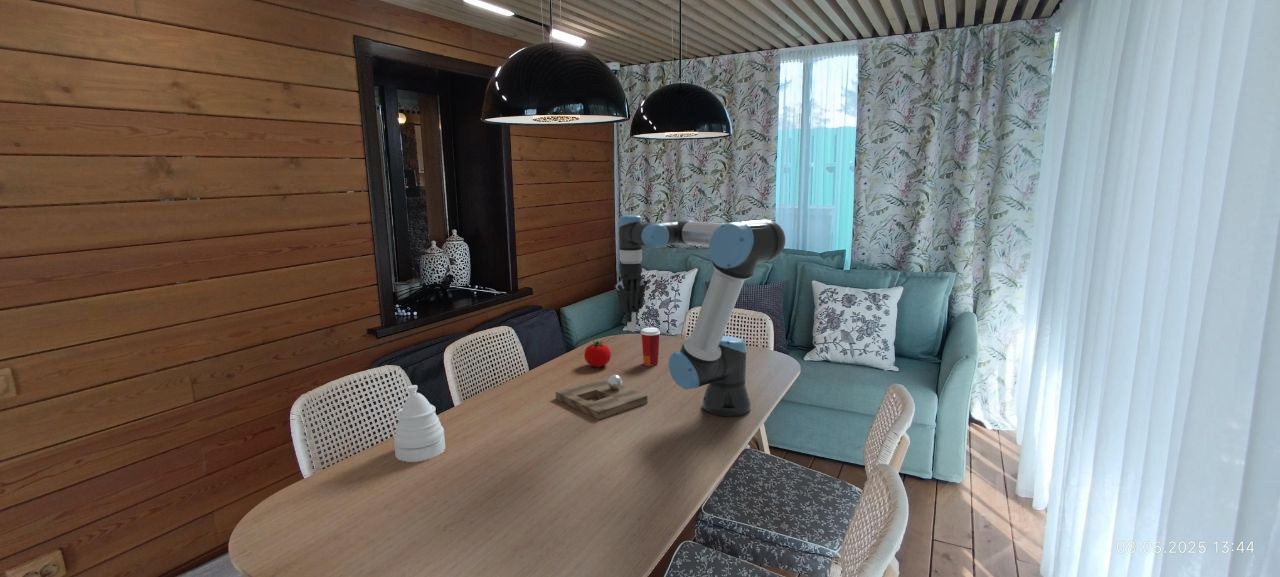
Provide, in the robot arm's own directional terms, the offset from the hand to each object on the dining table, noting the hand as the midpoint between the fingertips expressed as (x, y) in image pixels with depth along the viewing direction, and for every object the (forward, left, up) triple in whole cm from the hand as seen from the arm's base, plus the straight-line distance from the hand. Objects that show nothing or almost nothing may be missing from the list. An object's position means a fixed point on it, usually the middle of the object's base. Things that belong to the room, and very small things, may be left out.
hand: (631, 330), depth 200 cm
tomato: (+30, -7, -22) cm, 38 cm away
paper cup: (+18, -24, -22) cm, 37 cm away
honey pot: (+4, +72, -22) cm, 76 cm away
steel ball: (0, +8, -16) cm, 18 cm away
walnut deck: (0, +14, -21) cm, 26 cm away
